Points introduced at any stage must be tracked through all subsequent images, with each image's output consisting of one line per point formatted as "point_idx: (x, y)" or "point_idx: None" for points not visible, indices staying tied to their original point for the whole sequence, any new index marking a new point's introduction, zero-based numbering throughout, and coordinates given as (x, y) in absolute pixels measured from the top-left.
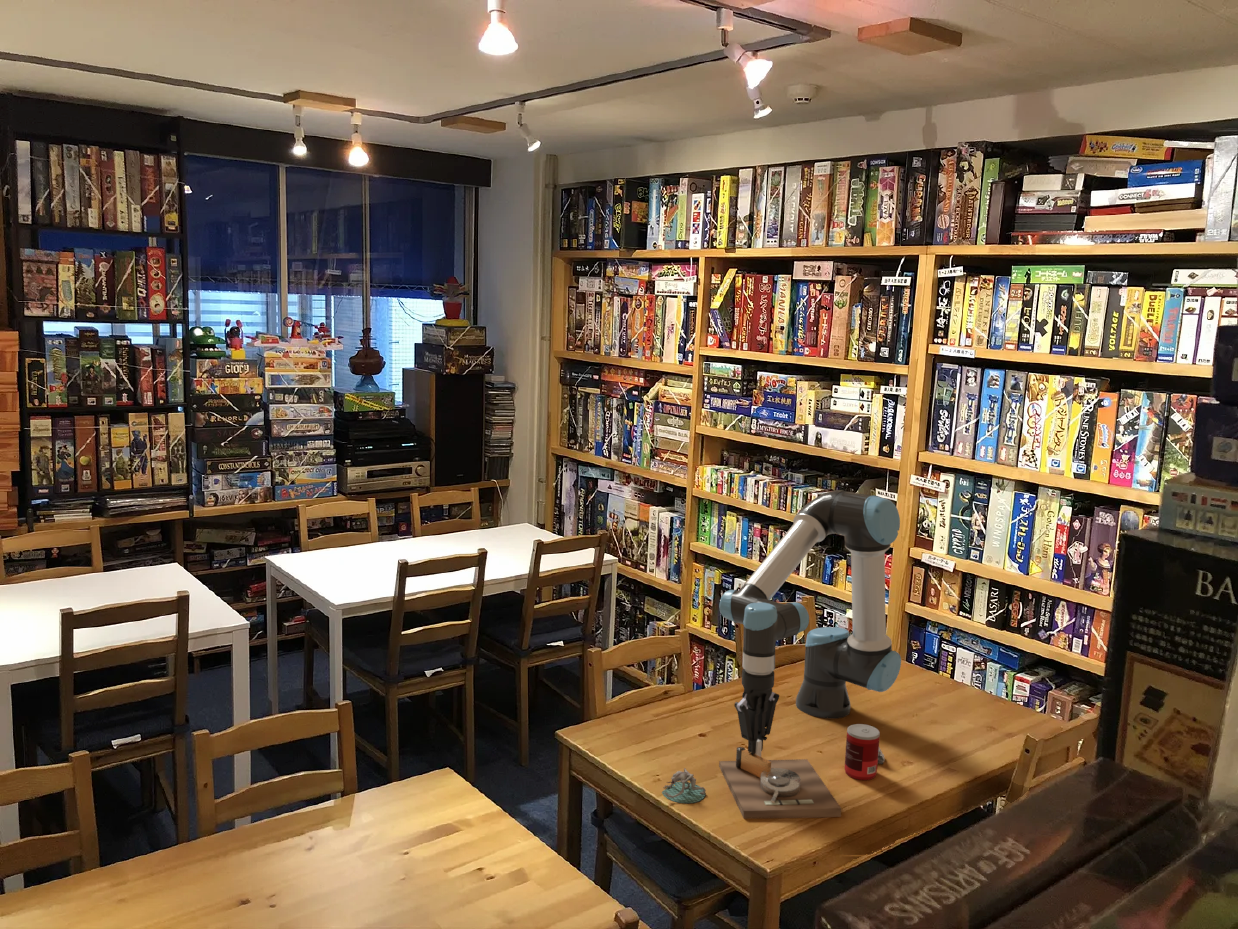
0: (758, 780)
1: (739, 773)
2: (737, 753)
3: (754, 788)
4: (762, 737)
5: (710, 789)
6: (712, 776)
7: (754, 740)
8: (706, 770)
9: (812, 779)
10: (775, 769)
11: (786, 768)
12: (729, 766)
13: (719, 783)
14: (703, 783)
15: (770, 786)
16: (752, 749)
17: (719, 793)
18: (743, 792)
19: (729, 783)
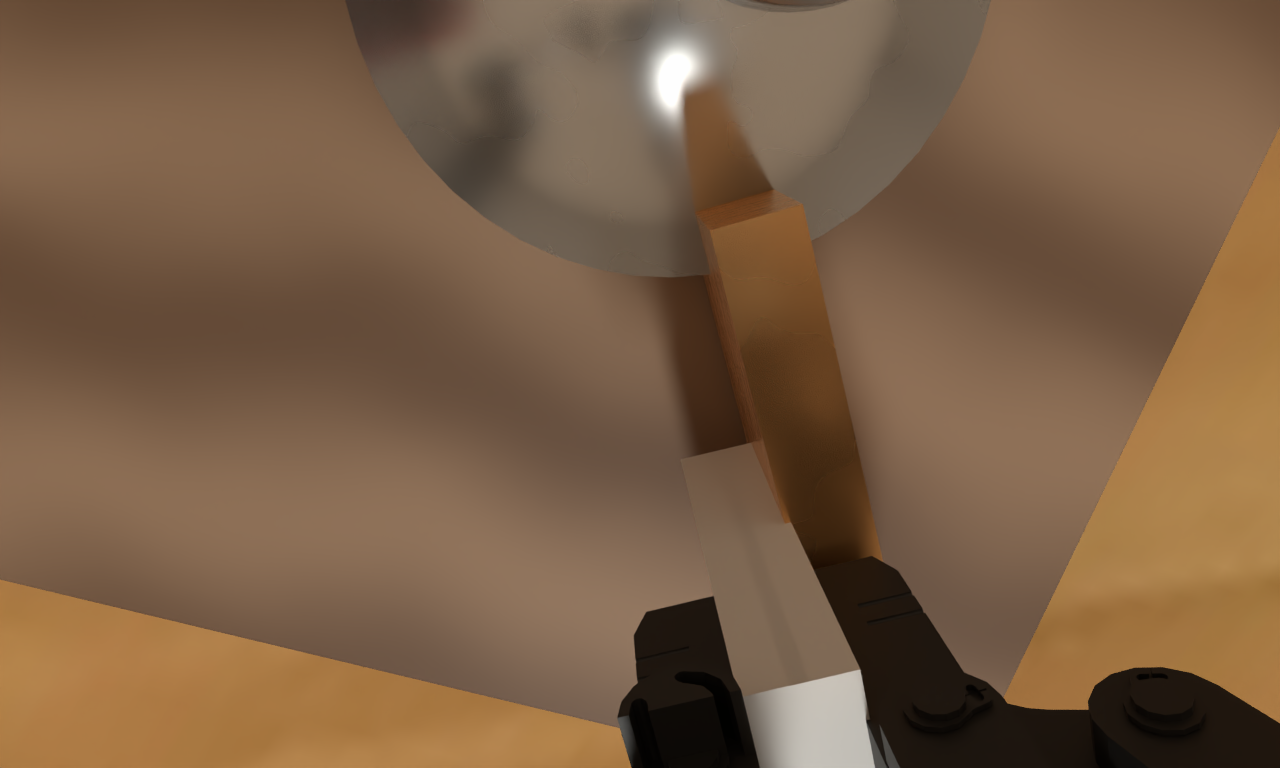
0: None
1: (924, 499)
2: None
3: (999, 85)
4: (730, 750)
5: (1275, 413)
6: (1073, 641)
7: (984, 692)
8: None
9: (69, 25)
10: (601, 219)
11: (280, 427)
12: None
13: (1104, 494)
14: (1252, 546)
15: None
16: (913, 604)
17: (1251, 303)
18: (1200, 41)
19: (1159, 349)
